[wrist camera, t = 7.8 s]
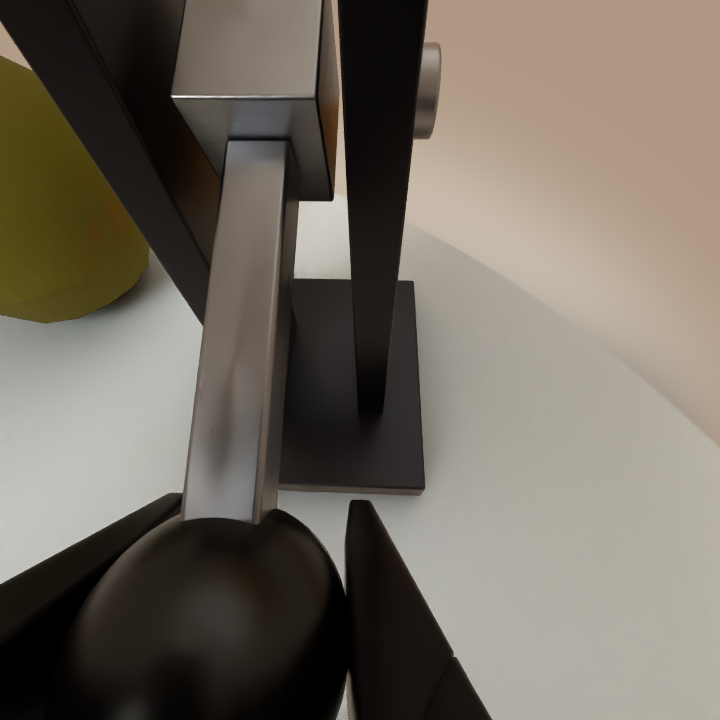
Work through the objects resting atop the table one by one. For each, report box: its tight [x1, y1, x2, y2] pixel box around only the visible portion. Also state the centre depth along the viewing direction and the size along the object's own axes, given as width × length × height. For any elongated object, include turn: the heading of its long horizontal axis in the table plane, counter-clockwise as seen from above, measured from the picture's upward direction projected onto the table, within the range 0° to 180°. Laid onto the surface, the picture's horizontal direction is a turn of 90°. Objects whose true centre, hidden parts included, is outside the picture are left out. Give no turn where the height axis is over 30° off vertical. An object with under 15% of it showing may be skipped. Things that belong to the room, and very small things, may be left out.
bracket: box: [0, 0, 441, 496], centre depth 10 cm, size 10×8×13 cm
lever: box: [44, 0, 349, 720], centre depth 6 cm, size 12×4×4 cm, turn 178°
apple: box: [0, 56, 149, 323], centre depth 14 cm, size 10×10×11 cm
